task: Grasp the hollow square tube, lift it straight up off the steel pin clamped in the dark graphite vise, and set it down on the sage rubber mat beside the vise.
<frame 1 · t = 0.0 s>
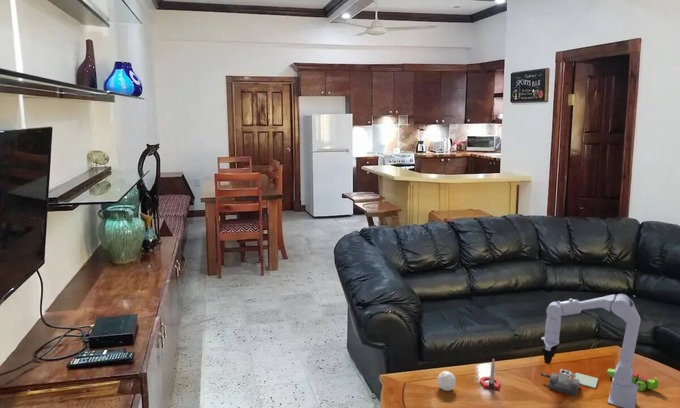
hand: (549, 359, 224), 10 cm above the table, fingers open, 7 cm apart
geometric ball: (445, 389, 218), on the table
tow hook: (489, 384, 223), on the table
vise: (563, 387, 222), on the table
set down mat: (585, 381, 227), on the table
toy crocodile: (631, 384, 226), on the table
hollow square tube: (564, 383, 221), point 2 cm above the table, touching vise
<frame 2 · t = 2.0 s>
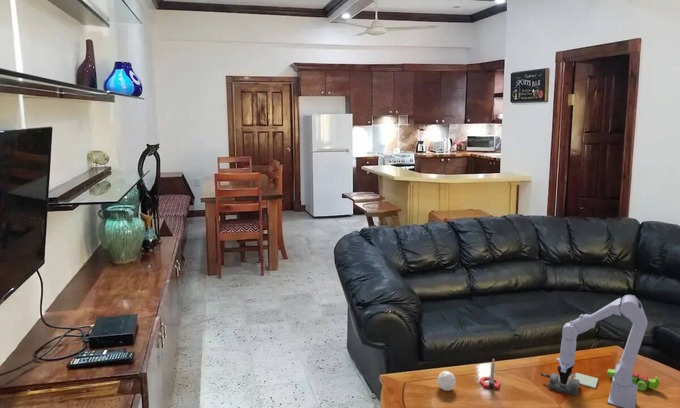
hand: (564, 381, 221), 3 cm above the table, fingers closed on hollow square tube, 4 cm apart
hollow square tube: (564, 383, 221), point 2 cm above the table, touching gripper, vise
everything else where it was.
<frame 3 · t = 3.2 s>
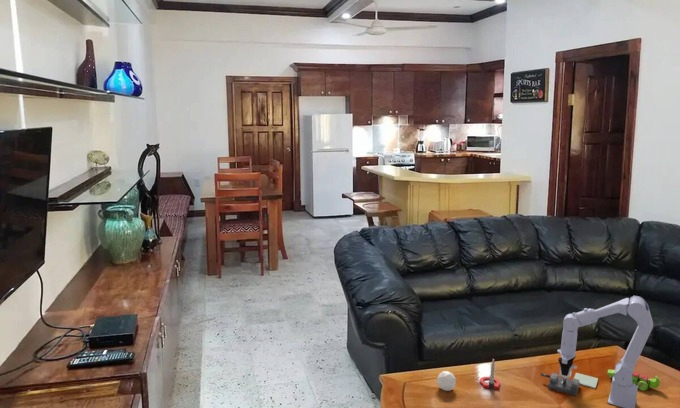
hand: (565, 372, 220), 7 cm above the table, fingers closed on hollow square tube, 4 cm apart
hollow square tube: (565, 374, 221), point 6 cm above the table, touching gripper
everything else where it was.
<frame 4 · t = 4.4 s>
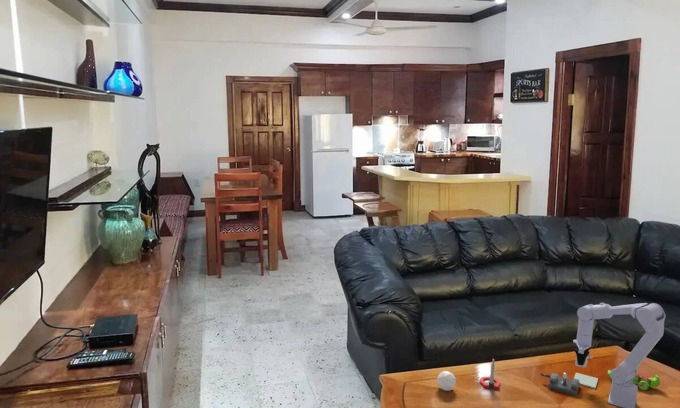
hand: (581, 362, 224), 10 cm above the table, fingers closed on hollow square tube, 4 cm apart
hollow square tube: (580, 364, 224), point 9 cm above the table, touching gripper
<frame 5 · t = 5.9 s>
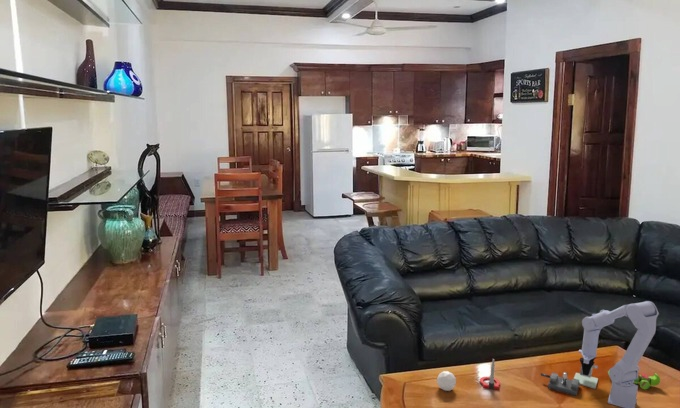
hand: (586, 372, 226), 4 cm above the table, fingers closed on hollow square tube, 4 cm apart
hollow square tube: (586, 374, 227), point 3 cm above the table, touching gripper
when the fingers open (3 cm above the table, at t = 7.1 s): hollow square tube drops 1 cm, resting on set down mat.
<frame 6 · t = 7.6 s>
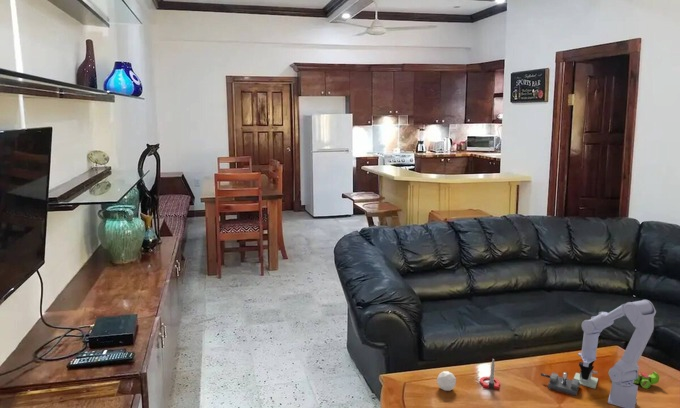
hand: (586, 375, 227), 3 cm above the table, fingers open, 7 cm apart
hollow square tube: (585, 379, 227), point 1 cm above the table, touching set down mat
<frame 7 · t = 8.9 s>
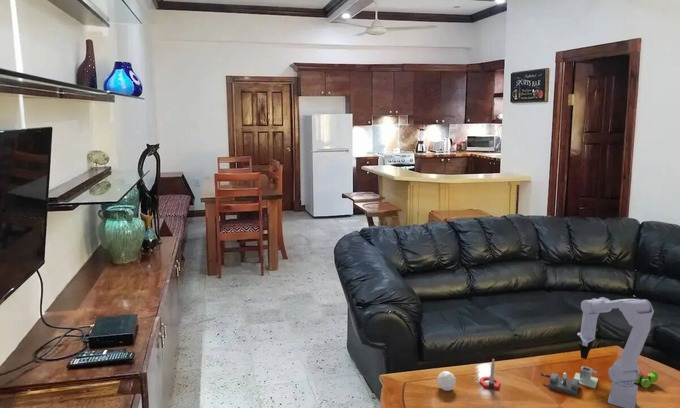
hand: (585, 355, 231), 10 cm above the table, fingers open, 7 cm apart
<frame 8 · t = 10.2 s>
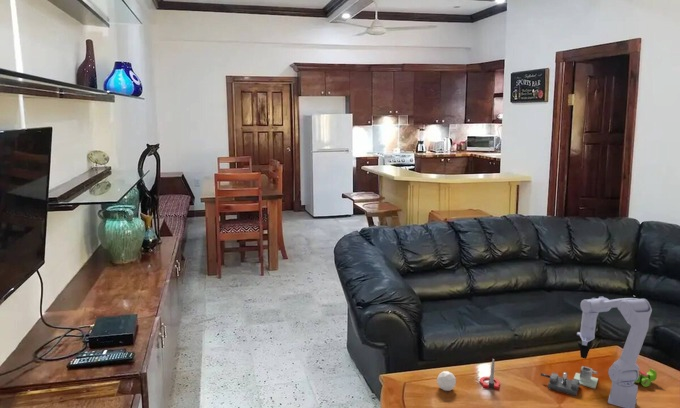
hand: (584, 354, 231), 9 cm above the table, fingers open, 7 cm apart
at the end: hollow square tube 0.1 cm off-centre on the set down mat, point 0.6 cm above the set down mat's base; hollow square tube tilted 0°; the gripper is holding nothing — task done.
